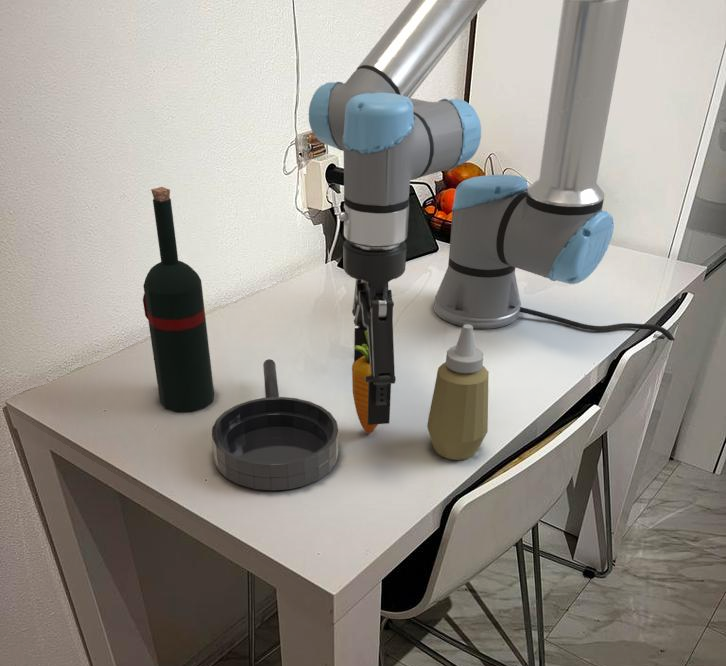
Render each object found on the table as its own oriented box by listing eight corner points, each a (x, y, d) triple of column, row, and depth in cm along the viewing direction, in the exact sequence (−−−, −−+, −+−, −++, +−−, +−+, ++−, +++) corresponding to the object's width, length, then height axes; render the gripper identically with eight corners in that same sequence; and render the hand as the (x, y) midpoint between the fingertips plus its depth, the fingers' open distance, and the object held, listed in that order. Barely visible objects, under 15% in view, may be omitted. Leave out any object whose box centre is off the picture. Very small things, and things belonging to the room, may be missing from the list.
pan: (331, 419, 113) (331, 394, 111) (344, 487, 100) (344, 460, 98) (215, 426, 111) (212, 400, 109) (214, 496, 98) (210, 468, 96)
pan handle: (275, 367, 120) (274, 356, 119) (279, 409, 110) (279, 398, 109) (263, 368, 120) (262, 357, 119) (266, 410, 110) (266, 398, 109)
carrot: (383, 445, 108) (387, 345, 99) (347, 440, 109) (348, 341, 100) (389, 426, 112) (394, 328, 103) (355, 422, 113) (356, 324, 104)
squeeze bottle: (496, 448, 108) (514, 326, 97) (461, 473, 103) (475, 347, 93) (449, 426, 112) (460, 306, 102) (413, 449, 108) (421, 326, 97)
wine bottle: (183, 374, 123) (156, 173, 105) (225, 398, 117) (205, 189, 100) (139, 393, 118) (104, 185, 100) (182, 418, 113) (152, 203, 95)
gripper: (332, 207, 104) (333, 353, 116) (357, 282, 84) (354, 449, 97) (389, 205, 105) (383, 351, 117) (427, 279, 85) (415, 445, 98)
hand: (370, 395), depth 107 cm, fingers open, 13 cm apart
